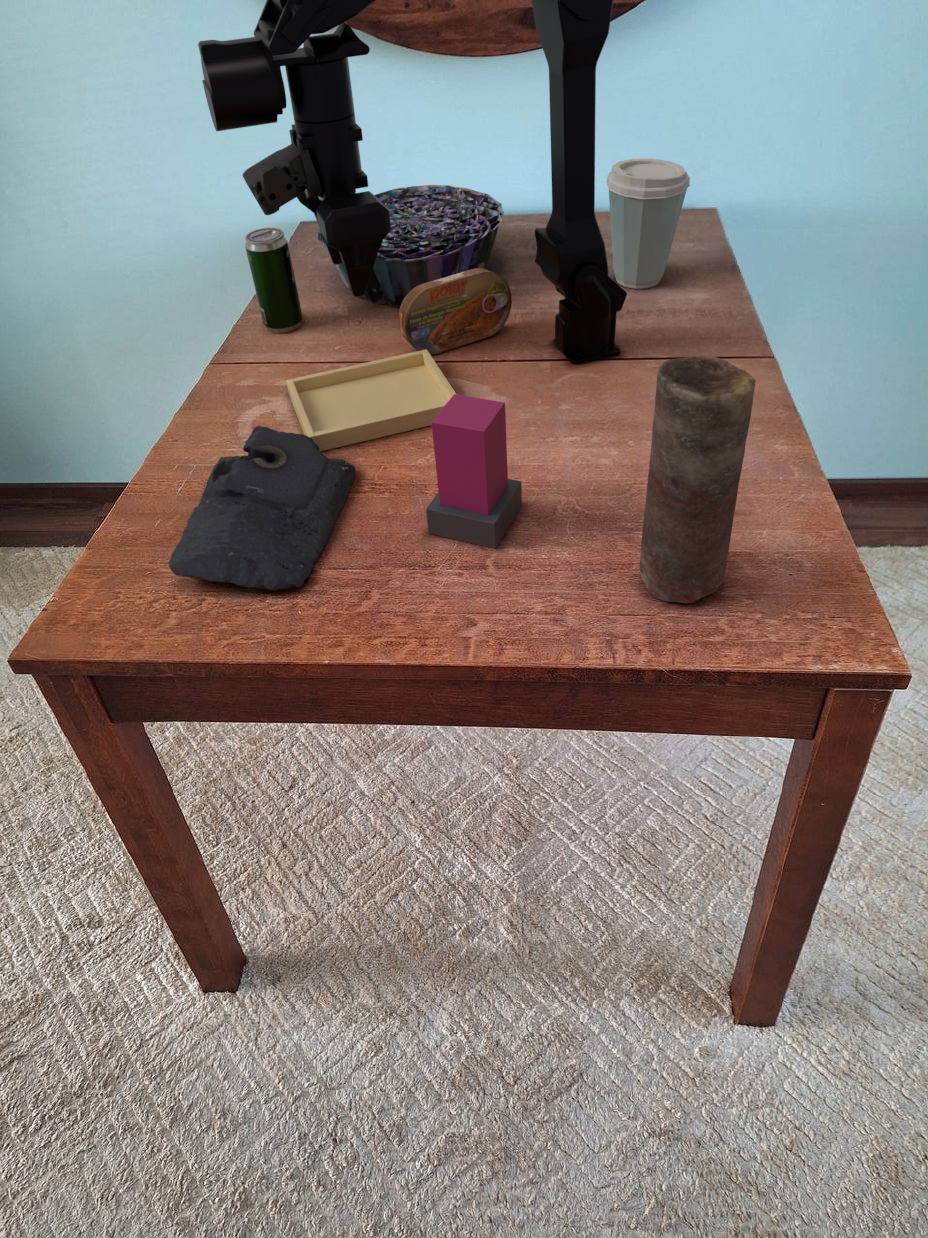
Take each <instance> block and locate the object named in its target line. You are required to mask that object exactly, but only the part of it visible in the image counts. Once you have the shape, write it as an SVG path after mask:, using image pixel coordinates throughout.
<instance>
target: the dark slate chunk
mask: <svg viewBox="0 0 928 1238" xmlns="http://www.w3.org/2000/svg"><path fill="white" fill-rule="evenodd" d="M242 450H243V452H244V453H247V455H233V456H232V455H229V456H221V457H220V458H219V459H218V461H217V463H215V464H214V466H213V467H212V469H211V473H210V475H209V477H208V479H207V481H206V484H205V487H204V490H203V492H202V495H201V498H200V502H199V503H198V505H197V506H194V508H193V510H192V512H191V514H190V515H189V518H188V519H187V521H186V526H185V528H184V529H183V531H182V535H181V538H180V540H179V542H178V543H177V544H176V546H175V548H174V550H173V551H172V553H171V556H170V558H169V560H168V567H169V570H170V572H172V573H173V575H175V576H180V577H187V578H191V579H192V578H193V579H198V580H203V581H209V582H217V583H225V584H227V583H229V584H234V585H236V586H238V587H242V588H248V589H262V590H269V591H277V590H288V589H291V588H301V587H302V586H303V584H304V583H305V581H306V579H308V577H309V576H310V574H311V572H312V570H314V565H315V564H316V563H318V561H319V557H320V556H321V554H322V552H323V550H324V548H325V547H326V546H327V544H328V541H329V539H330V537H331V535H332V533H333V531H334V530H335V525H336V522H337V521H338V519H339V516H340V514H341V513H342V508H343V507H344V506H345V501H347V496H348V495H349V494H350V492H351V488H352V486H353V481H354V479H355V476H356V473H357V471H356V467H355V466H354V465H353V464H351V463H349V462H346V460H345V459H339V458H333V459H331V458H329V457H327V456H326V455H325V454H324V453H323V452H322V451H321V452H320V451H319V447H318V445H316V444H315V443H314V441H313V439H311V438H310V437H308V436H305V435H304V434H301V433H295V432H286V431H277V430H276V429H272V428H270V427H267V426H261V425H257V426H255V427H254V428H253V429H252V430H251V433H250V435H249V437H248V438H247V439H246V440H245V441H244V445H243V446H242Z"/></svg>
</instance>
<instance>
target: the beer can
mask: <svg viewBox="0 0 928 1238" xmlns="http://www.w3.org/2000/svg"><path fill="white" fill-rule="evenodd" d="M244 240H245V245H244V248H245V252H246V257H247V261H248V264H249V269H250V273H251V277H252V281H253V286H254V289H255V294H256V299H257V303H258V306H259V311H260V316H261V320H262V324H263V325H264V327H265V328H266V329H267V330H268V331H269V332H270V333H273V334H286V333H291V332H293V331H295V330H297V329H298V328H300V327H301V326H302V324H303V318H304V317H303V311H302V306H301V301H300V296H299V292H298V287H297V282H296V276H295V272H294V271H295V270H294V267H293V262H292V257H291V252H290V247H289V242H288V239H287V238H286V236H285V232H284V230H282V229H281V228H278V227H263V228H258V229H254V230H252V231H250V232H248V233H247V234H246V235H245V236H244Z"/></svg>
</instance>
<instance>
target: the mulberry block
mask: <svg viewBox="0 0 928 1238" xmlns="http://www.w3.org/2000/svg"><path fill="white" fill-rule="evenodd" d="M431 424H432V425H431V433H432V441H433V451H434V461H435V462H434V463H435V471H436V479H437V480H436V481H437V489H438V490H437V491H438V492H439V501H440V505H444V506H448V507H453V508H458V509H462V510H467V511H472V512H476V513H481V514H486V515H489V514H490V512H491V510H492V509H493V507H494V506H495V504H496V503H497V501H498V500H499V498H500V496H501V495H502V493H503V492H504V490H505V489H506V487H507V486H508V479H509V476H508V475H509V474H508V450H507V449H508V447H507V445H508V444H507V443H508V442H507V416H506V402H505V401H501V400H500V401H499V400H493V399H486V398H480V397H476V396H470V395H469V396H468V395H463V394H457V393H456V394H454V395H453V396H452V397H451V399H450V400H449V401H448V402H447V404H446V405H445V406H444V407H443V408H442V410H441V411H440V412H439V413H438V415H437V416H436V417H435V418H434V419H433V421H432V422H431Z"/></svg>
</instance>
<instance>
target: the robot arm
mask: <svg viewBox="0 0 928 1238" xmlns="http://www.w3.org/2000/svg"><path fill="white" fill-rule="evenodd" d="M375 1H377V0H266V2H265V4H264V6H263V8H262V11H261V14H260V16H259V19H258V21H257V23H256V26H255V28H254V31H253V36H251V37H244V38H236V39H229V40H216V39H207V40H206V39H205V40H200V41H199V42H198V44H197V47H198V50H199V55H200V64H201V69H202V75H203V79H202V85H203V91H204V94H205V95H204V96H205V99H206V102H207V103H206V104H207V106H208V111H209V113H210V118H211V121H212V124H213V127H214V130H215V132H222V131H229V130H236V129H242V128H243V129H244V128H249V127H255V126H263V125H268V124H275V123H278V118H279V117H278V116H279V115H280V116H281V115H283V114H284V111H283V110H284V109H286V108H287V95H286V89H285V83H284V79H283V74H282V73H283V72H282V68H281V67H284V68H285V74H286V80H287V86H288V92H289V97H290V104H291V110H292V115H293V121H294V123H293V124H291V129H289V136H290V143H291V144H289V145H287V146H285V147H283V148H282V149H279V150H276V151H275V152H272V153H271V154H269V155H268V156H266V157H264V158H263V159H261V160H260V161H258V162H256V163H255V164H253V165H251V166H250V167H248V168H247V169H245V170H244V171H243V173H242V178H243V179H244V182H245V184H246V185H247V187H248V189H249V190H250V192H251V194H252V195H253V197H254V199H255V200H256V202H257V204H258V205H259V208H260V209H261V211H262V212H263V215H265V216H270V215H274V214H275V213H277V212H278V211H280V208H281V207H283V206H284V205H286V204H288V203H289V202H291V201H293V200H294V199H296V198H297V201H298V202H299V203H300V204H302V206H304V207H305V208H306V209H308V210H309V211H310V212H312V213H313V214H314V217H315V220H316V222H317V225H318V227H319V228H318V229H320V230H321V235H322V237H323V239H324V241H325V243H326V246H327V249H328V251H329V254H330V256H329V258H330V257H331V258H330V259H332V260H331V262H332V264H333V265H334V264H335V265H337V264H342V263H343V265H344V268H345V272H346V275H347V278H348V281H349V284H350V287H351V290H352V291H351V292H352V295H353V297H354V298H359V297H360V296H363V295H364V294H365V292H366V288H367V285H368V282H369V279H370V276H371V273H372V269H373V266H374V263H375V260H376V257H377V255H378V252H379V249H380V247H381V244H382V241H383V239H384V238H386V237H387V234H388V233H389V232H390V231H391V225H390V216H389V210H388V209H387V208H386V207H385V206H384V204H383V203H382V202H381V201H380V200H379V199H378V198H377V197H376V196H374V195H375V194H373V193H372V192H371V191H370V190H367V191H366V190H365V191H360V192H357V189H362V188H363V189H365V188H368V187H369V181H368V180H369V179H368V175H367V174H366V173H365V171H364V170H363V169H362V160H361V154H360V146H359V145H360V144H359V142H361V141H364V139H363V130H362V128H361V126H359V125H358V124H357V120H356V114H355V105H354V98H353V97H354V96H353V89H352V82H351V81H352V80H351V72H350V65H349V58H353V57H360V56H365V55H366V56H367V55H368V54H369V53H370V51H371V49H370V46H369V45H368V44H367V43H366V42H364V41H363V40H362V39H361V38H360V37H358V35H357V34H356V33H355V31H354V29H353V28H352V26H351V25H350V24H349V23H348V22H347V21H349V20H351V19H352V18H354V17H356V16H357V15H359V14H360V13H361V12H363V11H364V10H365V9H366V8H368V7H369V6H370V5H372V4H373V3H374V2H375ZM530 2H531V5H532V12H533V17H534V23H535V24H534V25H535V29H536V33H537V35H538V39H539V42H540V45H541V48H542V50H543V53H544V56H545V59H546V62H547V66H548V86H549V87H548V89H549V90H548V91H549V92H548V93H549V127H550V128H549V131H550V160H551V161H550V166H551V168H550V169H551V170H550V171H551V174H550V175H551V205H552V206H551V214H550V218H549V220H548V222H547V224H546V227H538V228H535V229H534V238H535V243H536V254H535V255H536V256H535V258H534V263H535V264H536V265H537V266H538V267H539V268H540V271H541V273H542V275H543V277H545V278H546V279H547V280H548V281H549V282H550V283H551V284H552V285H553V286H554V288H555V291H556V292H557V293H559V294H561V295H562V297H564V298H563V299H562V298H561V299H559V300H558V313H556V314H555V315H554V338H553V340H552V343H553V345H554V346H555V347H556V348H557V349H558V350H559V351H560V353H561V354H562V355H563V356H564V357H565V358H566V359H567V360H568V361H569V363H570V364H572V365H579V364H583V363H587V362H591V361H595V360H600V359H605V358H608V357H612V356H617V355H620V354H621V348H620V347H619V346H618V345H617V344H616V331H617V329H616V328H617V327H616V325H617V312H620V311H622V309H623V306H624V304H625V301H626V299H627V296H628V293H627V291H626V290H625V289H623V287H621V285H620V284H619V283H617V282H616V281H615V280H614V279H612V278H611V277H610V276H609V263H608V257H607V251H606V249H607V248H606V244H605V241H604V238H603V235H602V231H601V229H600V226H599V224H598V221H597V218H596V212H595V210H596V209H595V204H596V203H595V202H596V201H595V199H596V197H595V196H596V102H597V101H596V96H597V92H596V88H597V74H596V73H597V65H598V61H599V59H600V56H601V54H602V51H603V49H604V46H605V44H606V42H607V39H608V36H609V33H610V28H611V27H610V25H611V19H612V13H613V7H614V0H531V1H530ZM336 27H337V28H336ZM334 28H336V29H335V30H334V32H332V33H327V32H329V31H331V30H333V29H334ZM325 33H326V34H325ZM302 45H303V46H302ZM301 46H302V47H301ZM320 230H319V231H320ZM329 254H328V255H329ZM335 265H334V266H335ZM360 298H361V297H360Z"/></svg>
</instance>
